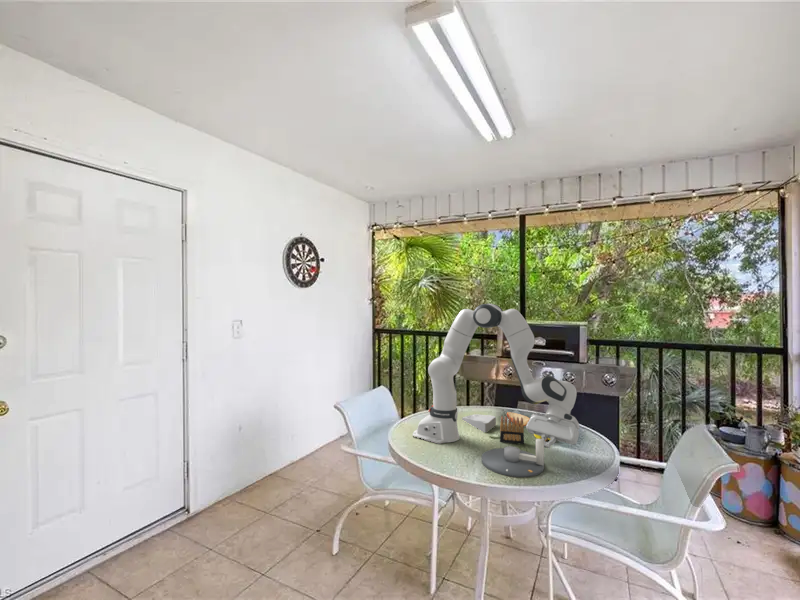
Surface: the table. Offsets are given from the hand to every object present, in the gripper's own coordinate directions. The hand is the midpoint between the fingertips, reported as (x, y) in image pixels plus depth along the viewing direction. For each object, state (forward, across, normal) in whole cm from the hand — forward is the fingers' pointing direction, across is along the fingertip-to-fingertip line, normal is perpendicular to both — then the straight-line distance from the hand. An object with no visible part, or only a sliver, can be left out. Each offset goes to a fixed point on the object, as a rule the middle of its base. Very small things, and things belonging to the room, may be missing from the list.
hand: (545, 446), depth 149 cm
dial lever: (+9, -6, -1) cm, 10 cm away
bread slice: (-25, -38, +36) cm, 58 cm away
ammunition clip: (-4, -22, +14) cm, 27 cm away
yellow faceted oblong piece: (-16, -18, +27) cm, 36 cm away
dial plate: (+11, -10, 0) cm, 15 cm away
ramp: (-11, -48, +22) cm, 54 cm away
